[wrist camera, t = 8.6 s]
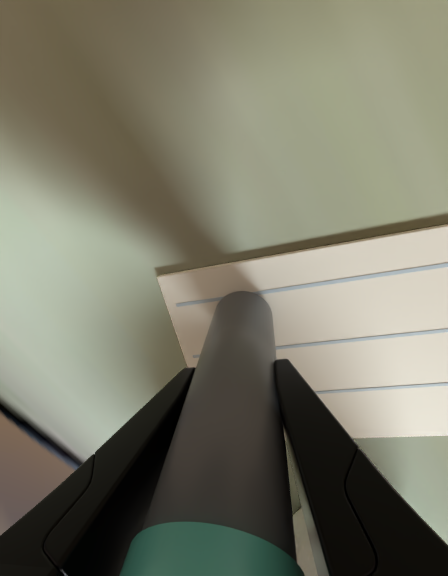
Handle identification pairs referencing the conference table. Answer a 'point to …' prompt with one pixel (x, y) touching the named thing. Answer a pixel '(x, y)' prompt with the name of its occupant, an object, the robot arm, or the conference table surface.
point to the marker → (224, 462)
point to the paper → (344, 324)
